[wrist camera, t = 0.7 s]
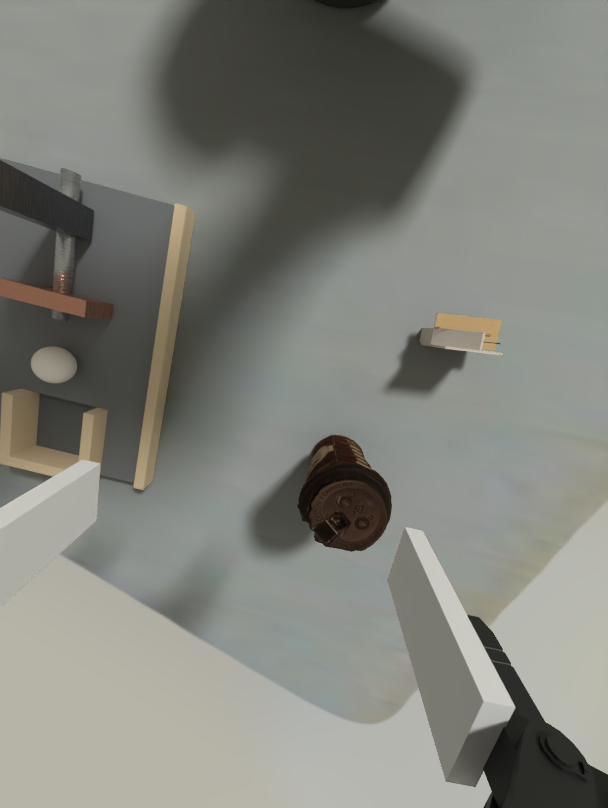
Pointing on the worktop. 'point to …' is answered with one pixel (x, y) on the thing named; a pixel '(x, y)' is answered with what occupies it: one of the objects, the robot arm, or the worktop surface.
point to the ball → (54, 364)
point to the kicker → (69, 220)
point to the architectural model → (462, 333)
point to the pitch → (93, 336)
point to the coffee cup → (344, 496)
